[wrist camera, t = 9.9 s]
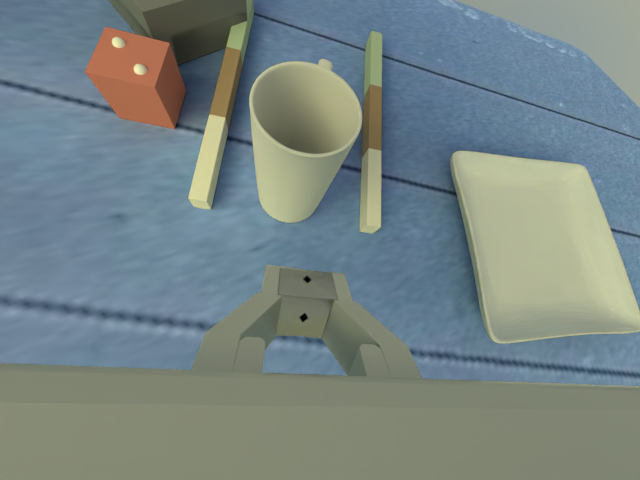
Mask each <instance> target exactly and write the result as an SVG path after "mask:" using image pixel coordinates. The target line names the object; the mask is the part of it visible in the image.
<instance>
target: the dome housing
mask: <svg viewBox="0 0 640 480" xmlns="http://www.w3.org/2000/svg"><path fill="white" fill-rule="evenodd" d="M109 1H110V2H111V4H112V5H113V6H114V7H115V9H116V10H117V11H118V12H119V13H120V15H121V16H122V17H123V18H124V20H125V21H126V22H127V23H128V24H129V26H130V27H131V28H132V29H133V31H134V32H135V33H136V34H137V35H140V36H144V37H148V38H152V39H156V40H160V41H164V42H168V43H170V45H171V48H172V51H173V54H174V57H175V59H176V62H177V65H180V64H183V63H185V62H188V61H191V60H193V59H196V58H199V57H201V56H204V55H207V54H209V53H212V52H215V51H217V50H220V49H223V48H225V47H226V46H227V42H228V38H229V34H230V30H231V26H234V25H237V24H240V23H243V22H245V21H247V4H246V0H109ZM247 22H248V21H247Z"/></svg>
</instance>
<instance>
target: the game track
mask: <svg viewBox="0 0 640 480" xmlns="http://www.w3.org/2000/svg"><path fill="white" fill-rule="evenodd" d="M246 4H247V21H248V22H247V21H245V22H243V23H240V24H237V25H234V26H231V30H230V34H229V38H228V42H227V46H226V50H225V54H224V58H223V62H222V66H221V70H220V74H219V78H218V82H217V86H216V90H215V94H214V98H213V102H212V106H211V110H210V113H209V117H208V121H207V125H206V129H205V133H204V137H203V141H202V145H201V149H200V153H199V157H198V161H197V165H196V169H195V173H194V177H193V181H192V185H191V189H190V193H189V197H188V199H189V200H190V202H191V203H192V205H193V206H194V207H196V208H203V209H210V210H211V208H212V203H213V198H214V194H215V189H216V185H217V180H218V176H219V171H220V166H221V162H222V157H223V153H224V148H225V144H226V139H227V134H228V130H229V125H230V121H231V116H232V112H233V107H234V103H235V98H236V93H237V89H238V84H239V80H240V75H241V71H242V66H243V61H244V57H245V52H246V48H247V43H248V39H249V34H250V30H251V25H252V20H253V16H254V0H246ZM381 139H382V33H378V32H375V31H372V30H371V33H370V36H369V38H368V41H367V43H366V48H365V79H364V109H363V140H362V171H361V201H360V232H367V233H374V232H375V231H377V230H378V229H379V228H381Z"/></svg>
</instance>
